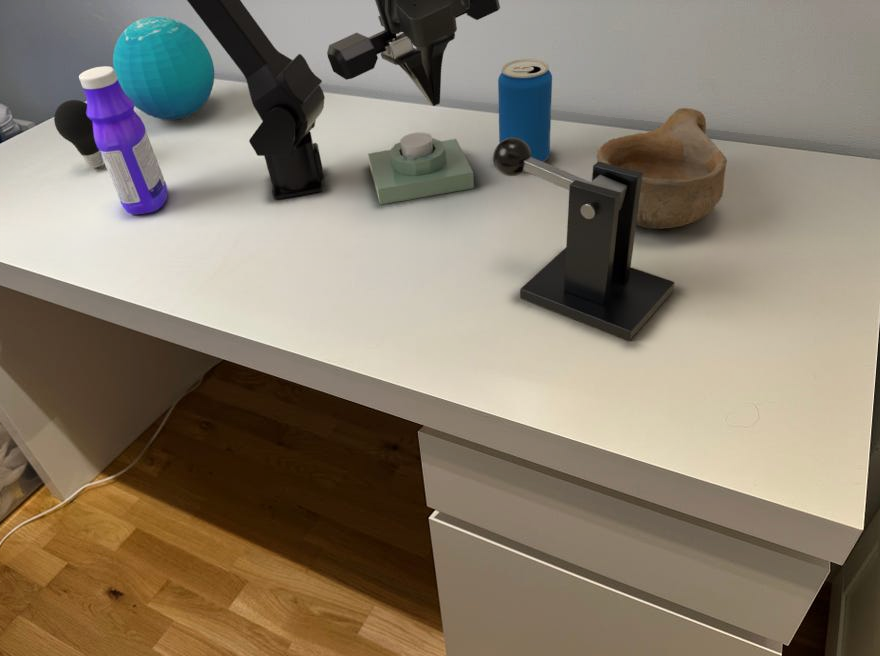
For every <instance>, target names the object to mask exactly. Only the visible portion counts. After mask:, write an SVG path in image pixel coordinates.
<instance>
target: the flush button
mask: <svg viewBox="0 0 880 656" xmlns="http://www.w3.org/2000/svg"><path fill="white" fill-rule="evenodd" d="M432 138H433V137H432V135H431V134H430V133H426V132H412V133H408V134H406V135H404V136H402V137H401V139H400V141H399V142H401V150H402V155H403V156H404V157H406V158H420V157H425V156H428V155H430V154H432V153H433V142H432Z"/></svg>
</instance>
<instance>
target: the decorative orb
mask: <svg viewBox="0 0 880 656" xmlns="http://www.w3.org/2000/svg"><path fill="white" fill-rule="evenodd" d="M112 66H113V69H114V71H115V74H116V76H117V78H118V81H119V83H120V86H121V88H122V89H123V91H124V92H125V94H126V95H127V96H128V97H129V98H130V99H131V100H132V101H133V102H134V108H136V109H138V110H139V111H141V112H143V113H144V114H146V115H148V116H150V117H152V118H155V119H161V120H164V121H165V120H166V121H174V120H176V121H177V120H182V119H184V118H187V117H190V116H191V115H193V114H196V112H198V111H199V110H200V109H201V108H202V107H203V106H204V105H205V104H206V103H207V101H208V100H209V98H210V97H211V96H210V95H211V93H212V90H213V87H214V84H215V66H214V61H213V58H212V55H211V53H210V50H209V49H208V47H207V45H206V44H205V42H204V41H203V40H202V38H201V37H200V35H199V34H198V33H197V32H195V30H194V29H193V28H191V27H189V26H188V25H187V24H186V23H183V22H181V21H180V20H176V19H174V18H171V17H167V16H166V17H165V16H158V15H157V16H155V15H154V16H148V17H143V18H141V19H138V20H136V21H134V22H133V23H131V24H130V25H128V26H127V27H126V28H125V30H123V32H122V33H121V34H120V36H119V37H118V39H117V40H116V44H115V46H114V49H113V55H112Z"/></svg>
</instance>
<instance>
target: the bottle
mask: <svg viewBox="0 0 880 656" xmlns="http://www.w3.org/2000/svg"><path fill="white" fill-rule="evenodd" d="M78 79H79V82H80V84H81V87H82V89H83V92H84V94H85V98H86V103H87V111H86V114H87V117H88V118H89V119H90V120H92V122H93V133H94V138H95V142H96V145H97V147H98V149H99V151H100V153H101V156H102V158H103V160H104V162H103V164H104V165H105V168H106V170H107V172H108V174H109V178H110V179H111V181H112V185H113V187H114V190H115V192H116V194H117V196H118V198H119V200H120V204H121V206H122V207H123V209H124V210H125V211H126V212H127V213H128V214H130V215H142V214H150V213H154V212H156V211H158V210H160V209H161V208H162V207H163V206H164V204H165V202H166V201H167V198H168V186H167V185H168V184H167V182H166V180H165V178H164V175H163V172H162V170H161V167H160V164H159V162H158V159H157V157H156V153H155V152H154V149H153V146H152V143H151V139H150V137H149V134H148V132H147V130H146V126H145V124H144V122H143V120H142V118H141V117H140V115H139V114H138V113H137V112H136V111H135V106H134V102H133V101H132V100H131V99H130V98H129V97H128V96H127V95H126V94H125V92H124V91H123V89H122V88H121V86H120V83H119V81H118V78H117V76H116V74H115V71H114V67H112V66H107V65H105V66H96V67H92V68H90V69H87V70H84V71H82V72H81V73H80V74H79V76H78Z"/></svg>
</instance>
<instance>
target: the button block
mask: <svg viewBox="0 0 880 656" xmlns="http://www.w3.org/2000/svg"><path fill="white" fill-rule="evenodd" d="M432 142H433V153H432V154H430V155H428V156H425V157H420V158H406V157H404V156H403V155H402V150H401V142H400V141H399V142H397V143H395V144H394V145H393V147H392V148H391V149H388V150H380V151H376V152H371V153H367V156H368V162H369V168H370V173H371V177H372V180H373V183H374V187H375V191H376V195H377V199H378V202H379V205H380V206H381V205H386V204H392V203H398V202H403V201H408V200H409V201H410V200H414V199H420V198H426V197H431V196H437V195H443V194H450V193H454V192H455V193H456V192H461V191H465V190H466V191H467V190H471V189H474V188H475V180H474V179H475V178H474V171H473V169H472V167H471V165H470V164H469V161H468V159H467V158H466V156H465V153H464V151H463V150H462V148H461V145H460V144H459V142H458V140H457V138H451V139H445V140H439V139H437V138H434V137H432Z"/></svg>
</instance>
